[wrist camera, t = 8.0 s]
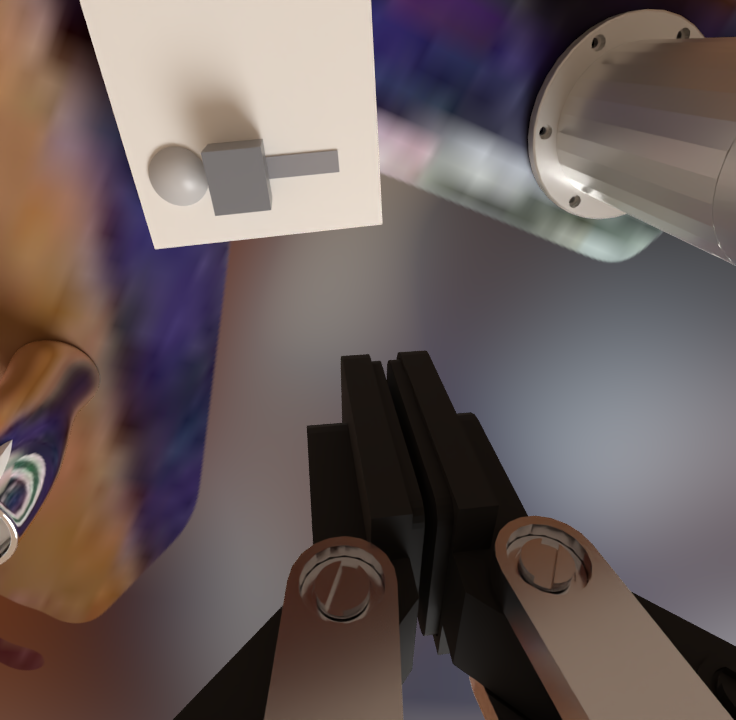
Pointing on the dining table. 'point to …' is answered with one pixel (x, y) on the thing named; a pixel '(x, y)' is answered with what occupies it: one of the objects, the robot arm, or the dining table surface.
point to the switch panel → (243, 109)
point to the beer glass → (37, 428)
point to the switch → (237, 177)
